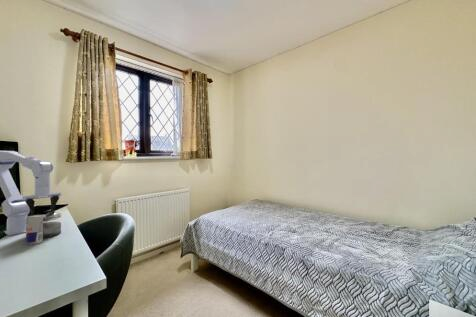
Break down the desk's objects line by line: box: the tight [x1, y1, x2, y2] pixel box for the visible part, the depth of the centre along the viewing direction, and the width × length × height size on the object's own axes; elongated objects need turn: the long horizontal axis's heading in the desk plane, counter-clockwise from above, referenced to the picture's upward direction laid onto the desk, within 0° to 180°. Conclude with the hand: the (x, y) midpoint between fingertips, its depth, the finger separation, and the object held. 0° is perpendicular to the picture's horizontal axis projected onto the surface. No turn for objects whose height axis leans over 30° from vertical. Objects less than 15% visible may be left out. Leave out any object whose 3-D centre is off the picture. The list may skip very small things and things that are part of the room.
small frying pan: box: [25, 210, 62, 224], centre depth 107 cm, size 19×13×1 cm
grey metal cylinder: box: [26, 221, 62, 240], centre depth 107 cm, size 13×13×5 cm
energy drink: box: [25, 214, 44, 246], centre depth 97 cm, size 5×5×12 cm
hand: (42, 212), depth 109 cm, fingers open, 7 cm apart
